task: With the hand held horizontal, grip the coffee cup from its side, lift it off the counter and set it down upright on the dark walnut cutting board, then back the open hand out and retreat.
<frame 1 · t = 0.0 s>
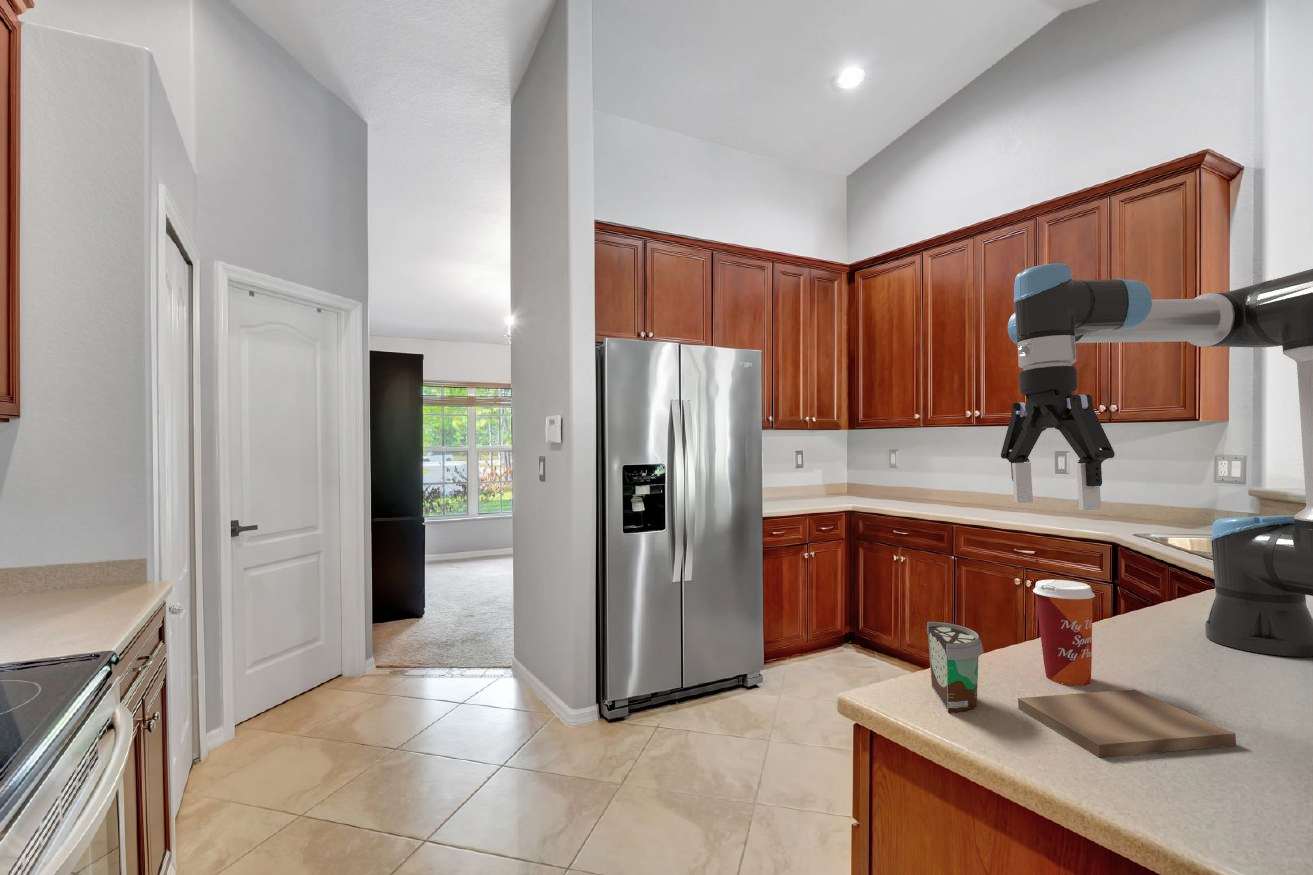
hand: (1054, 506, 92), 28 cm above the countertop, tool pointing down, fingers open, 13 cm apart
walnut board: (1118, 725, 80), on the countertop
coffee cup: (1068, 679, 96), on the countertop
food container: (961, 702, 89), on the countertop
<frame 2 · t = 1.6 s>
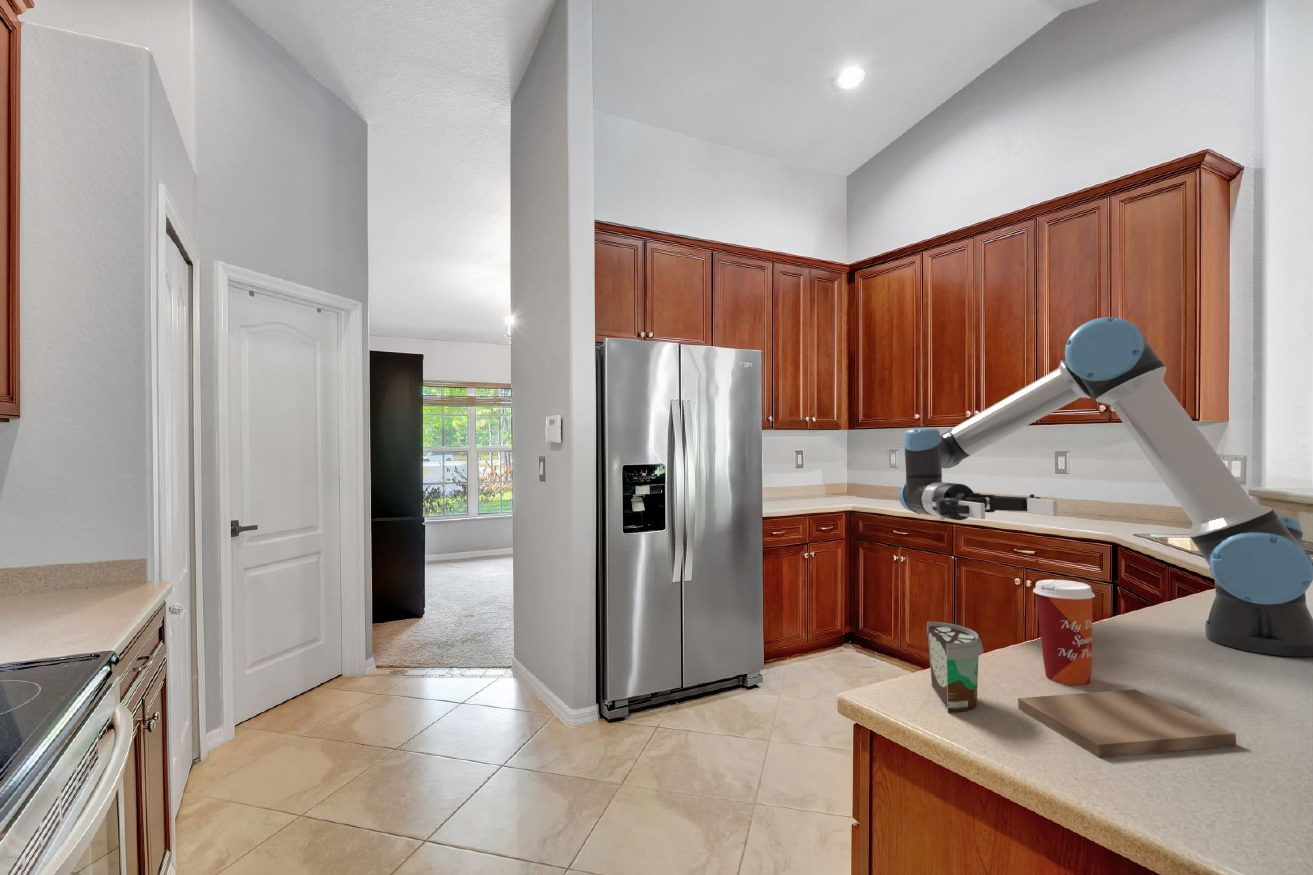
hand: (1019, 509, 106), 26 cm above the countertop, tool horizontal, fingers open, 13 cm apart
nothing on the countertop moved.
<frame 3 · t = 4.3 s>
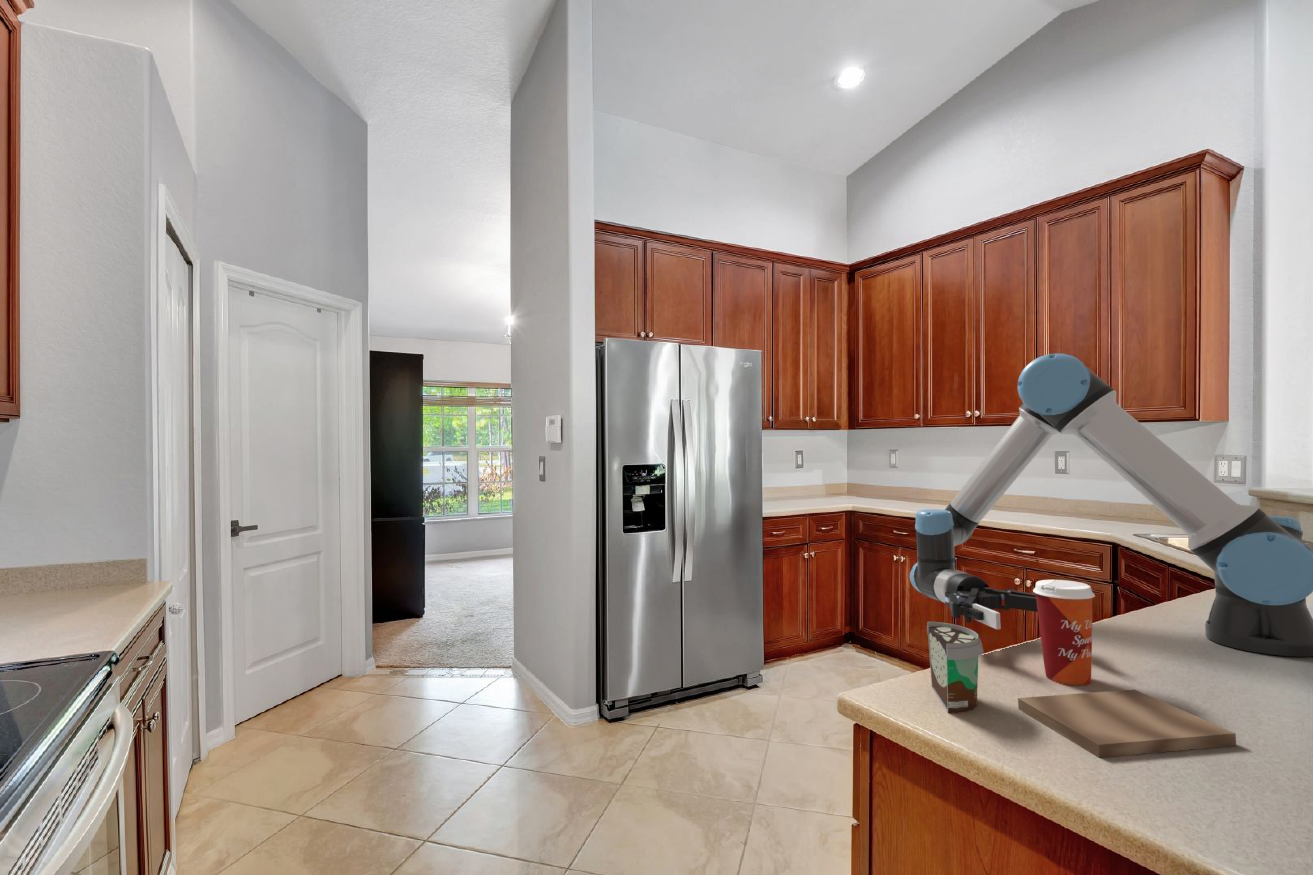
hand: (1036, 618, 102), 8 cm above the countertop, tool horizontal, fingers open, 13 cm apart
nothing on the countertop moved.
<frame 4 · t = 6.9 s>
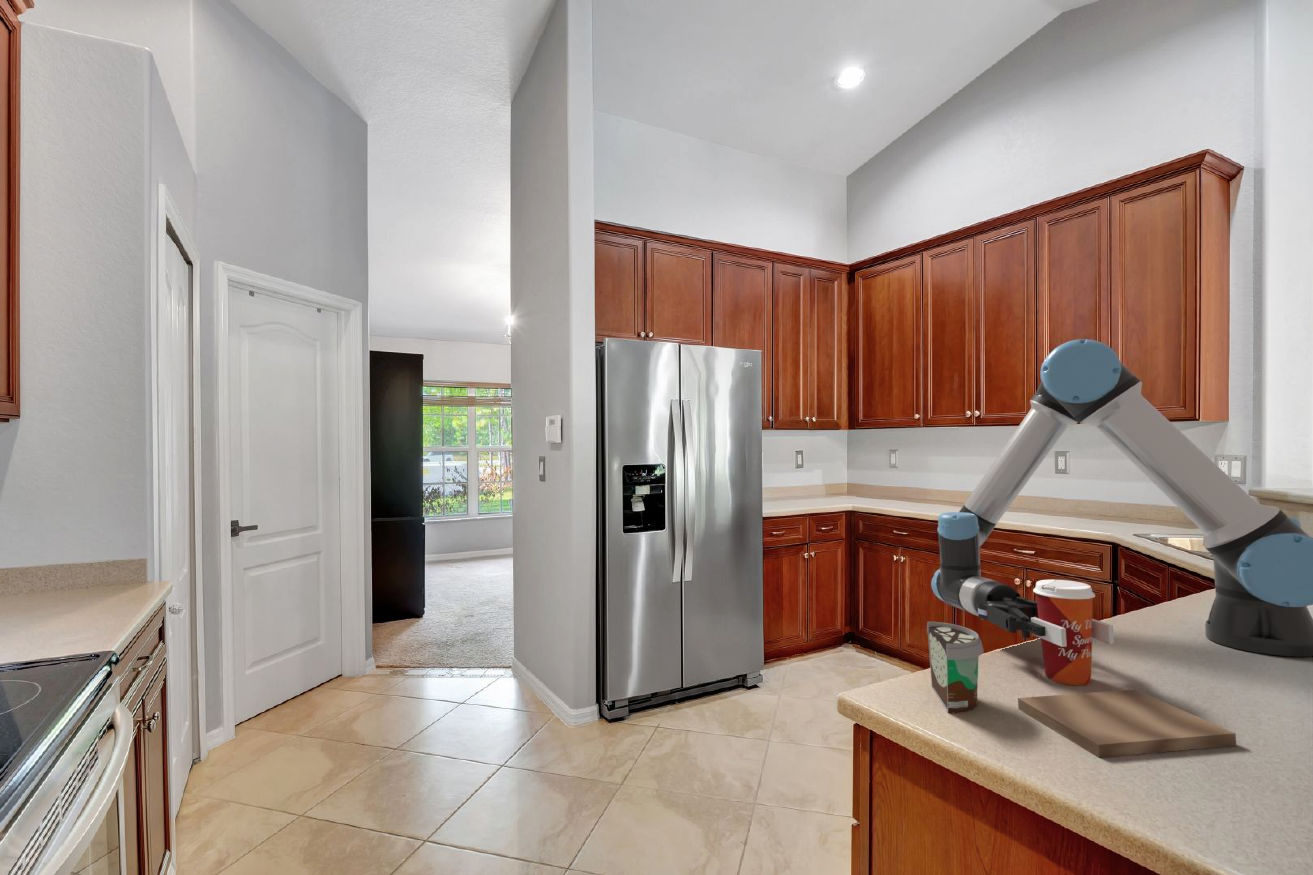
hand: (1087, 635, 92), 8 cm above the countertop, tool horizontal, fingers closed on coffee cup, 7 cm apart
coffee cup: (1068, 679, 96), on the countertop, touching gripper
everything else where it was.
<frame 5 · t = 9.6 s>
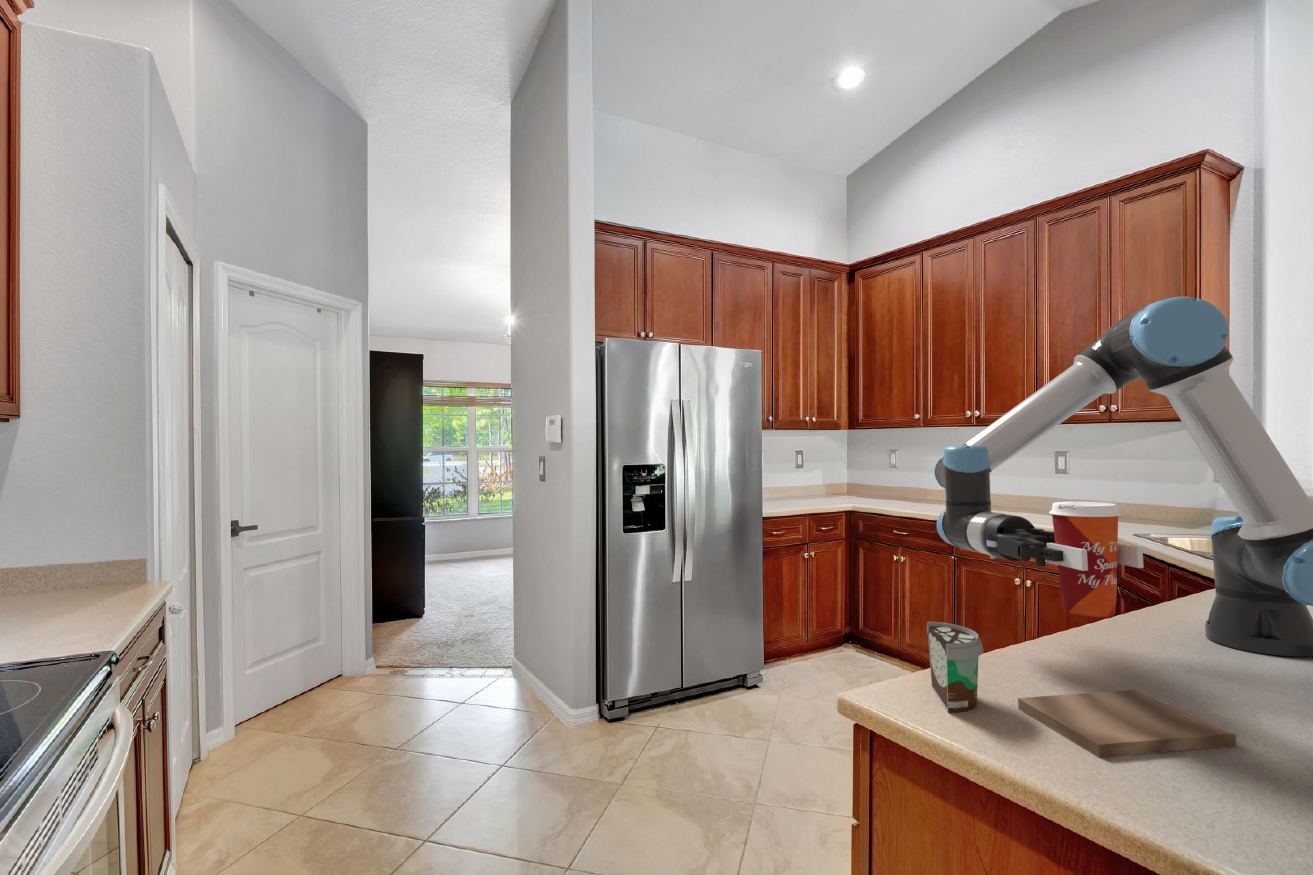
hand: (1112, 558, 80), 22 cm above the countertop, tool horizontal, fingers closed on coffee cup, 7 cm apart
coffee cup: (1089, 612, 84), point 14 cm above the countertop, touching gripper
everything else where it was.
when the fingers open (10 cm above the countertop, at t = 12.5 s): coffee cup stays where it is, resting on walnut board.
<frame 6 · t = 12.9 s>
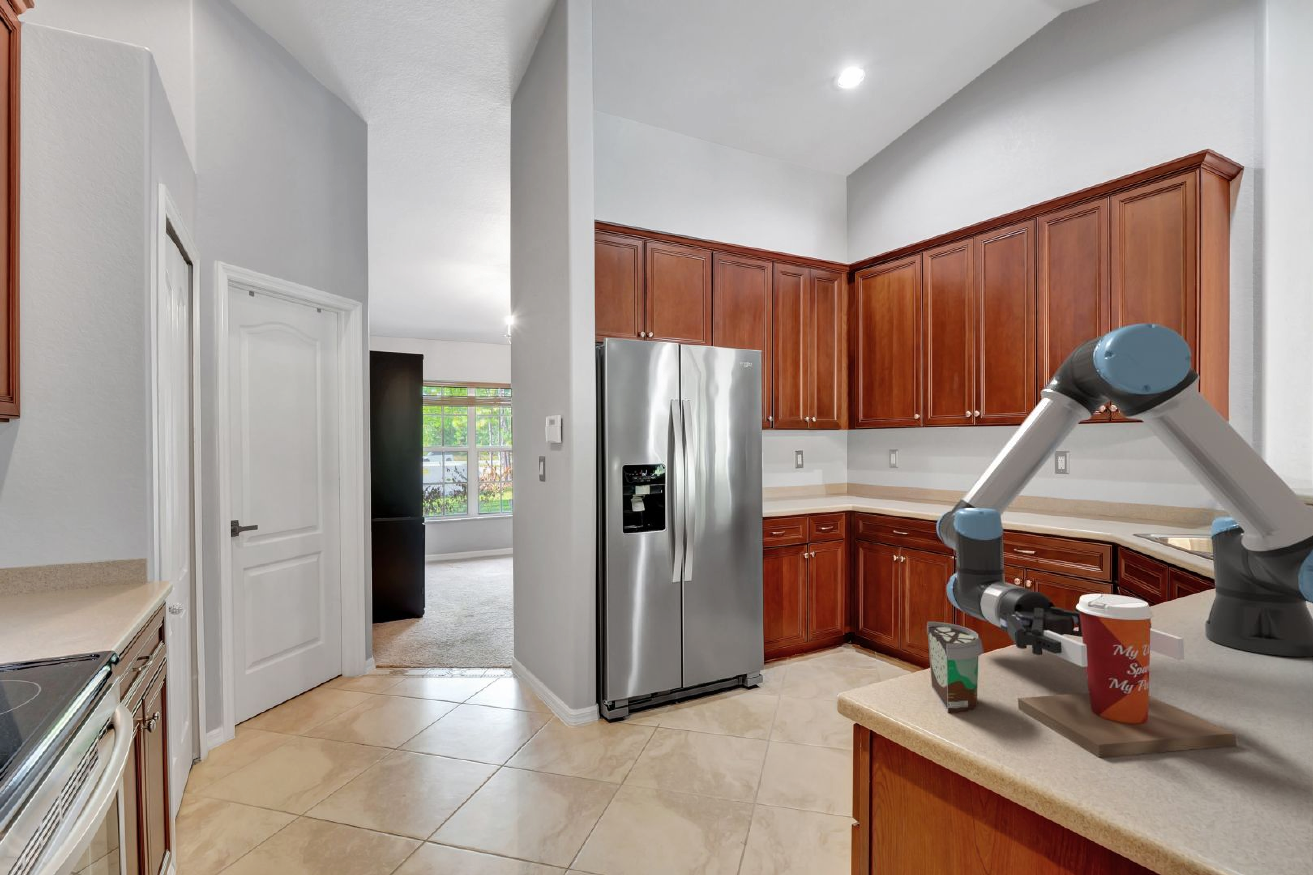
hand: (1133, 652, 77), 10 cm above the countertop, tool horizontal, fingers open, 13 cm apart
coffee cup: (1119, 715, 80), point 1 cm above the countertop, touching walnut board
everything else where it was.
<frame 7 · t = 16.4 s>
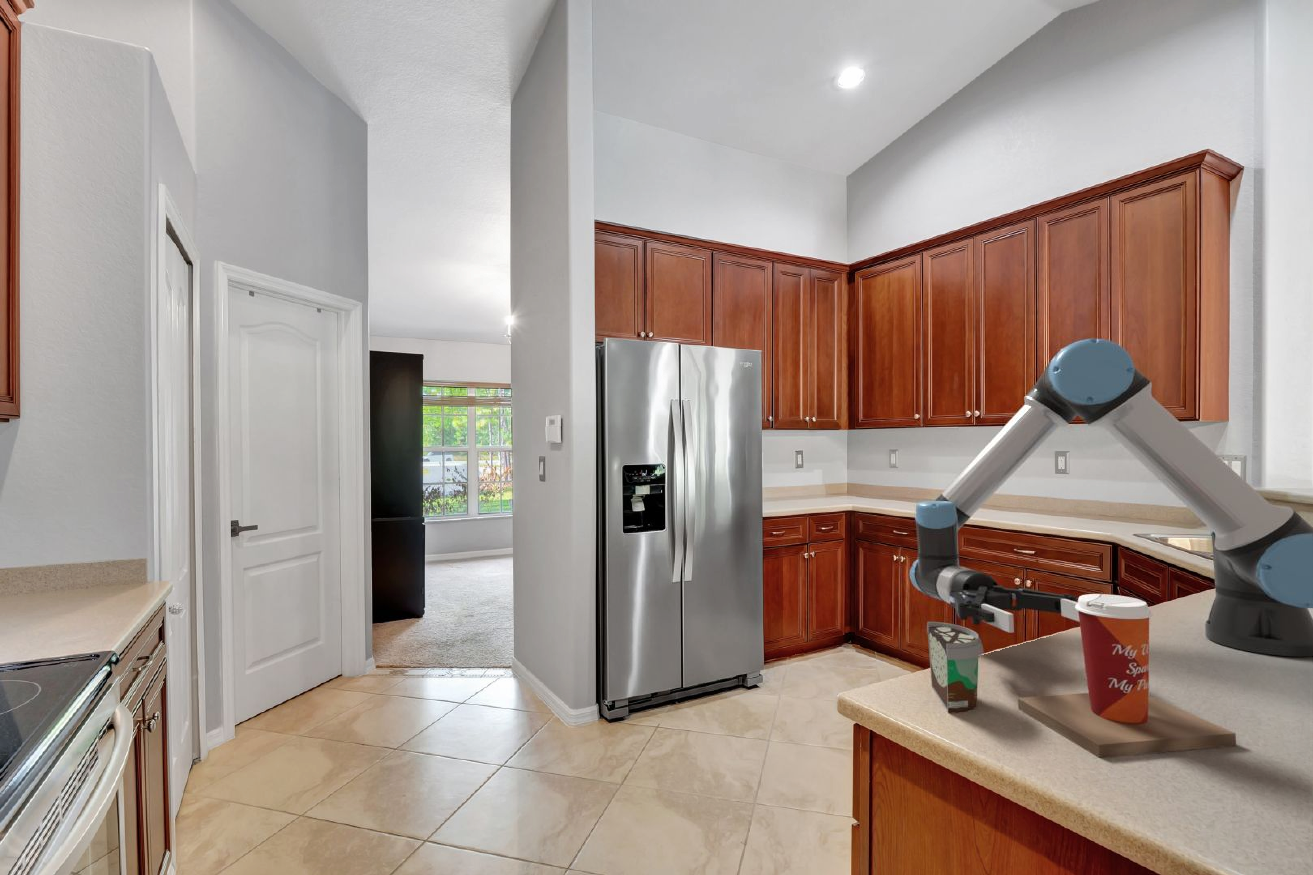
hand: (1054, 620, 91), 11 cm above the countertop, tool horizontal, fingers open, 13 cm apart
nothing on the countertop moved.
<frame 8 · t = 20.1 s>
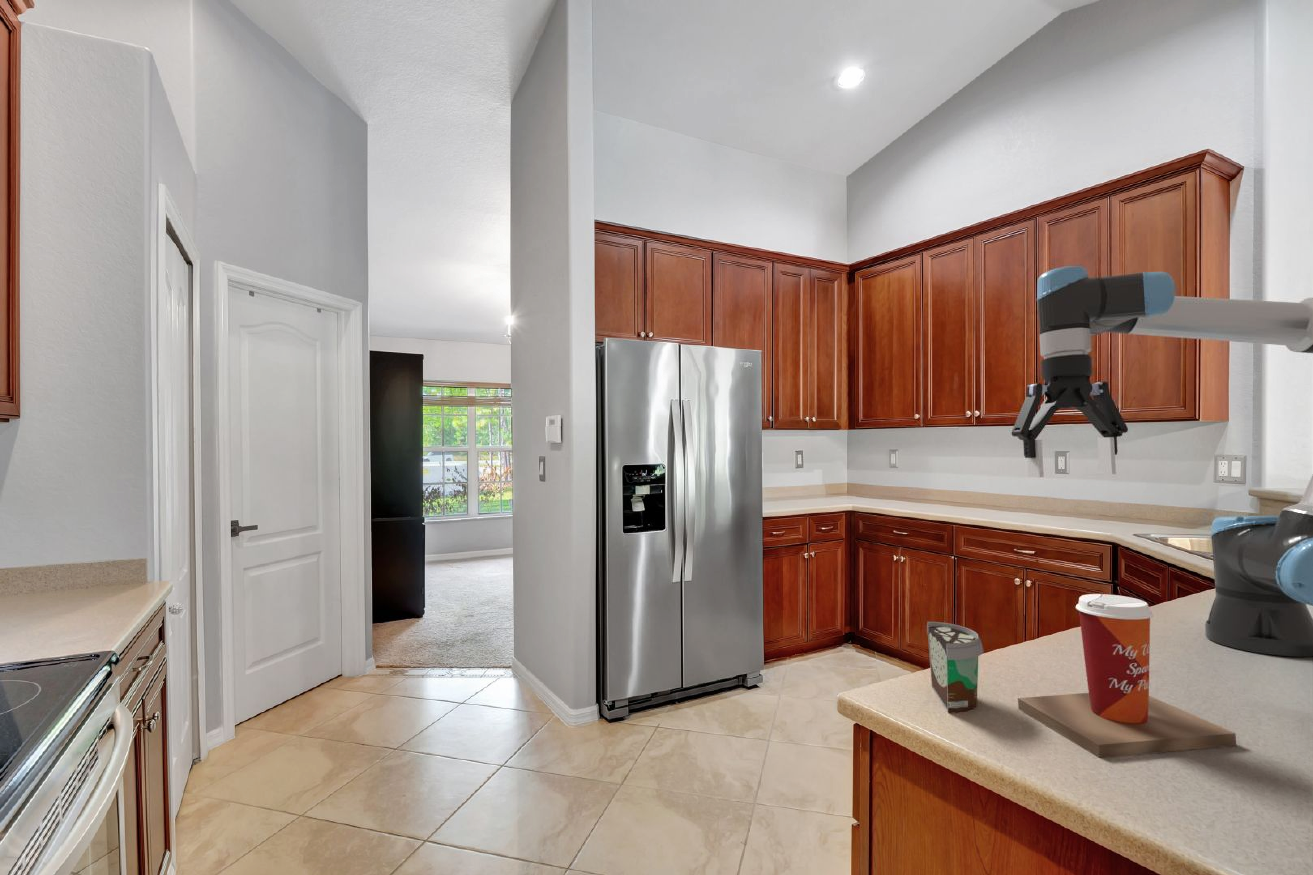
hand: (1072, 475, 107), 32 cm above the countertop, tool pointing down, fingers open, 13 cm apart
nothing on the countertop moved.
at the end: coffee cup inside the target area on the walnut board (0.2 cm from its centre), point 1.3 cm above the walnut board's base; coffee cup tilted 0°; coffee cup touching walnut board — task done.
